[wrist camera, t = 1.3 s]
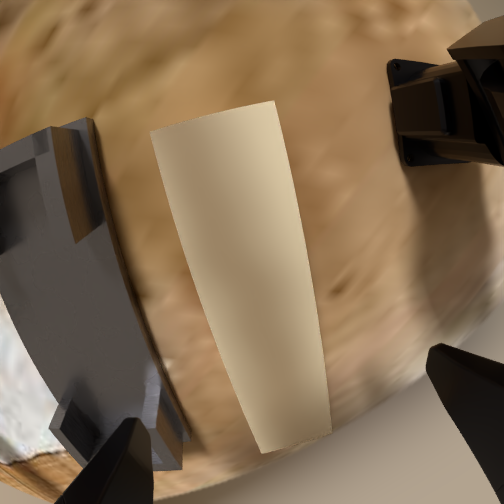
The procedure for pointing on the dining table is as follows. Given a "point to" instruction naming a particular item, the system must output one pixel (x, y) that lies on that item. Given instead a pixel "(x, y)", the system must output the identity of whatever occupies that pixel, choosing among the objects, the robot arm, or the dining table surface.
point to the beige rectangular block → (250, 266)
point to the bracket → (79, 297)
